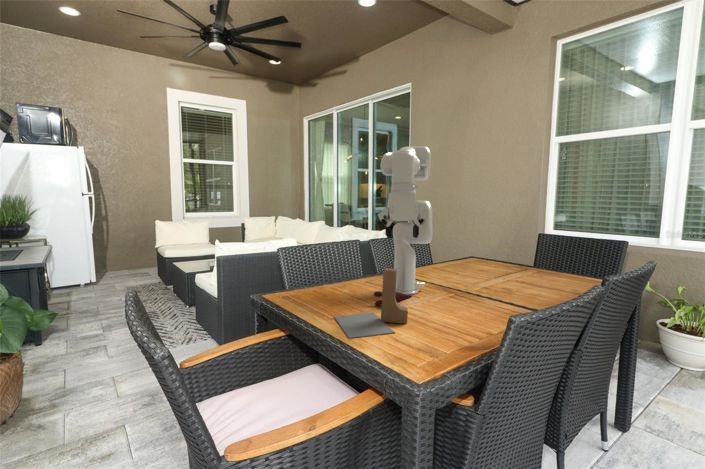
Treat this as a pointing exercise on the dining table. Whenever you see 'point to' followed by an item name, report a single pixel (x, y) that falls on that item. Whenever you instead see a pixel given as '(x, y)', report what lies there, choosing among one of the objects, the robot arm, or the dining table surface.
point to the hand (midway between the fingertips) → (402, 237)
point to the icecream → (398, 297)
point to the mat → (363, 325)
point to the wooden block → (391, 299)
